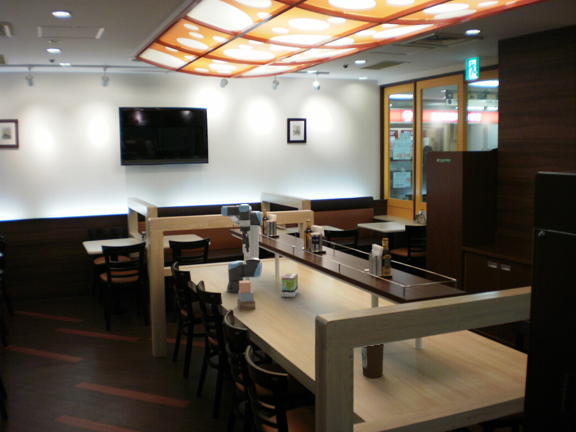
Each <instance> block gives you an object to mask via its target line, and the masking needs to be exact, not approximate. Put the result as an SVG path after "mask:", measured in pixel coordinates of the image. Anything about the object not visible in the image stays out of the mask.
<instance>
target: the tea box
mask: <svg viewBox="0 0 576 432" xmlns="http://www.w3.org/2000/svg"><path fill="white" fill-rule="evenodd" d="M298 275H299V274H298V273H285V274H283V276H282V277H281V297H285V298H286V297H287V298H294V297H295V296H296V295H297V294H298V292H299V276H298Z"/></svg>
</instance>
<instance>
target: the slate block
mask: <svg viewBox="0 0 576 432" xmlns="http://www.w3.org/2000/svg"><path fill="white" fill-rule="evenodd" d="M238 292H239V293H238V298H239V300H240V302H248V301H254V300H255V298H254V291H253V290H252V289H251V292H249V293H240V290H239V291H238Z"/></svg>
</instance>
